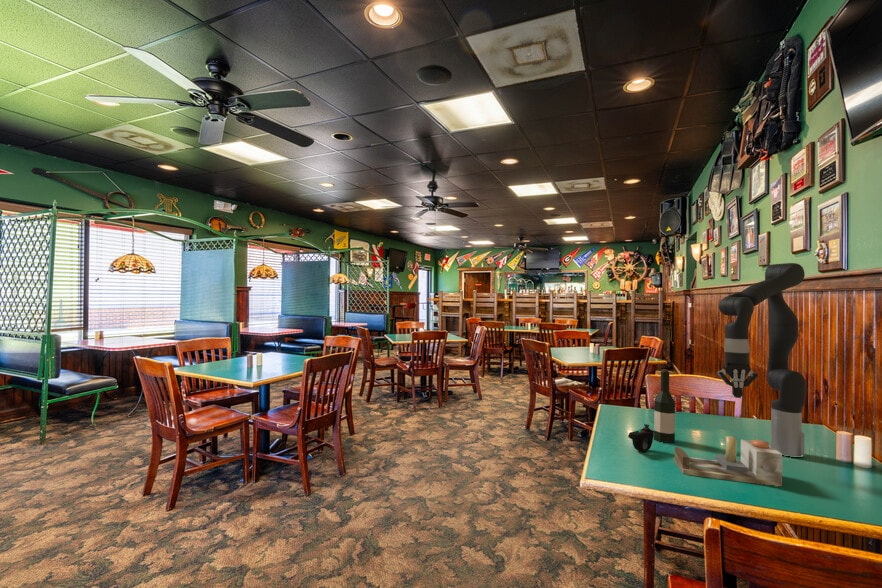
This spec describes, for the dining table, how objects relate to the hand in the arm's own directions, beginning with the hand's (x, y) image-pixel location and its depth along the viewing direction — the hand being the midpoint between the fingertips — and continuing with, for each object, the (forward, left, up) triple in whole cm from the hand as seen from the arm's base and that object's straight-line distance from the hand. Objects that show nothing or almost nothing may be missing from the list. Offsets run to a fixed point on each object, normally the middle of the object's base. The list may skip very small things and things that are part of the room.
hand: (737, 397), depth 149 cm
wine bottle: (+20, -17, -24) cm, 36 cm away
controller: (+32, +1, -24) cm, 40 cm away
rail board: (+8, +13, -24) cm, 28 cm away
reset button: (-2, +13, -13) cm, 19 cm away
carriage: (+6, +13, -21) cm, 25 cm away
